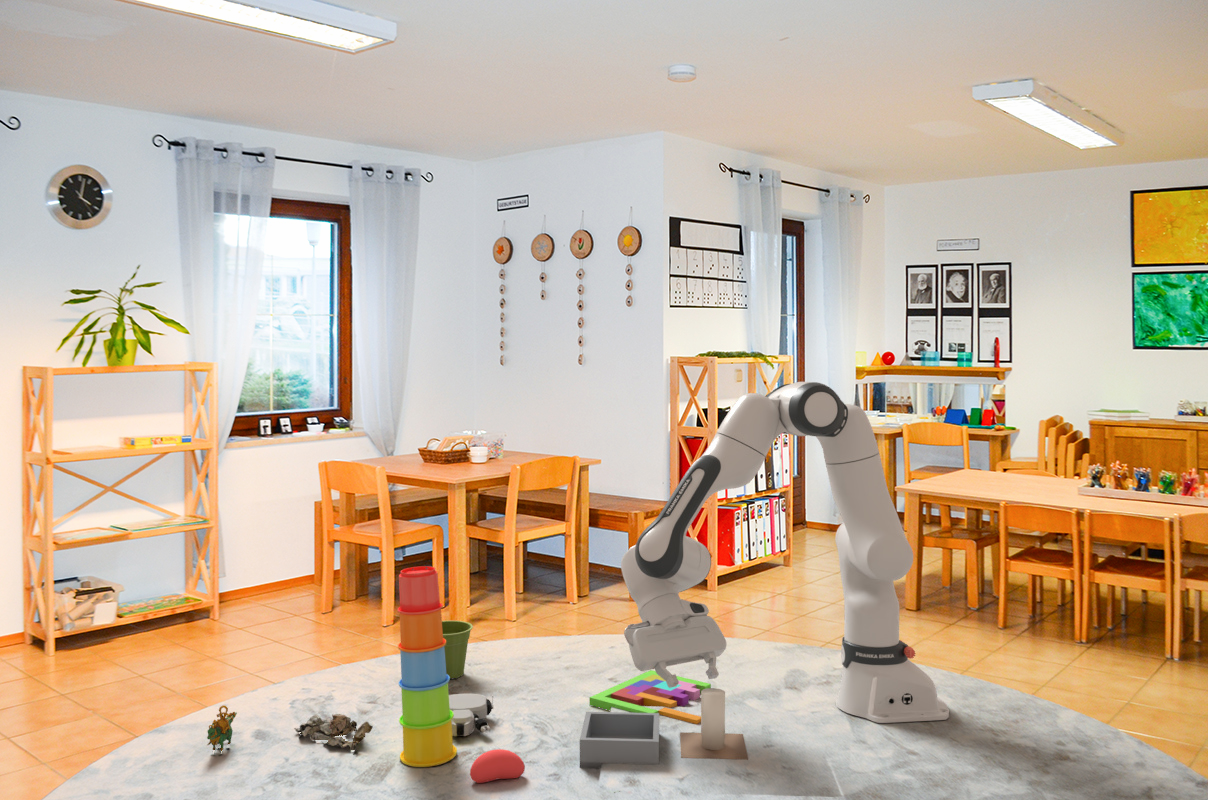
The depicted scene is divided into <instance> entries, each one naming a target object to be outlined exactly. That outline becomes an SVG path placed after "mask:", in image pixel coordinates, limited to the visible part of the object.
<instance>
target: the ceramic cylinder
mask: <svg viewBox="0 0 1208 800" xmlns="http://www.w3.org/2000/svg"><path fill="white" fill-rule="evenodd" d="M700 701H701V703H700V704H701V705H700V707H701V708H700V716H701V722H700V733H701V746H702V747H703V748H705V749H708V750H720V749H723V748H724V747H725V733H726V691H725V690H723V689H721V688H717V687H715V688H714V687H713V688H712V687H711V688H707V689H703V690H702V691H701V694H700Z"/></svg>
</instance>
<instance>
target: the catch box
mask: <svg viewBox="0 0 1208 800" xmlns="http://www.w3.org/2000/svg"><path fill="white" fill-rule="evenodd" d="M584 714H585V715H584V719H583V722H582V728H581V733H580V735H579V736H580V737H579V768H586V769H588V768H589V769H590V768H591V769H601V768H602V767H603V763H605V764H636V765H637V764H638V765H640V764H642V765H659V762H660V761H659V758H660V715H659V713H633V712H627V711H626V712H623V711H621V712H619V711H585V713H584Z"/></svg>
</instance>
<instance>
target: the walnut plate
mask: <svg viewBox="0 0 1208 800" xmlns="http://www.w3.org/2000/svg"><path fill="white" fill-rule="evenodd" d="M679 740H680V744H679V745H680V758H681V759H705V760H706V759H707V760H709V759H710V760H711V759H713V760H715V759H716V760H747V761H748V760H749V757H748V756H749V755H748V752H747V746H746V742H745V737H744V734H743V733H726V732H725V747H724V748H723V749H720V750H708V749H705V748H703V747H702V746H701V732H681V731H680V732H679Z"/></svg>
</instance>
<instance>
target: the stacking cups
mask: <svg viewBox="0 0 1208 800" xmlns="http://www.w3.org/2000/svg"><path fill="white" fill-rule="evenodd" d="M398 583H399V584H398V588H399V589H398V591H399V592H398V593H399V607H397V612H398V613H399V628H400V629H399V630H400V633H399V634H400V642H399V643H398V644H397V648H398V650H399V651H400V671H401V673H400V674H401V679H399V681H398V686H399V688H400V690H401V708H402V709H401V710H402V711H401V712H402V715H400V716H399V719H398V722H399V723H398V724H399V725H400V726H402V743H403V745H402V747H403V750H402V751H401V752H400V754H399V759H400V761H401V763H403V764H404V765H406V766H409V767H414V768H429V767H430V768H431V767H436V766H440V765H442V764H446V763H448V762H449V761H451V760H453V759H454V758H455V757H456V756H457V753H458V749H457V747H456V746H455V745H454V744H453V743H454V742H453V739H454V738H453V736H452V722H451V720H452V719H453V717H454V713H453V712H452V711H451V710H450V706H449V695H450V694H449V682H450V680H451V678H450V677H449V675H447V674H446V662H445V649H444V645H445V644H446V639H444V638H443V630H442V621H443V620H442V609H443V606H444V605H443V603H441V601H440V600H441V599H440V589H439V587H440V586H439V576H438V571H437V570H436V567H433V566H430V565H429V566H427V565H422V566H421V565H420V566H412V567H407V568H403V569H402V570H400V573H399V575H398Z"/></svg>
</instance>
